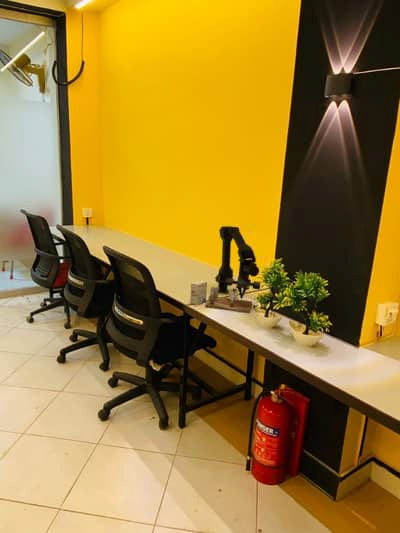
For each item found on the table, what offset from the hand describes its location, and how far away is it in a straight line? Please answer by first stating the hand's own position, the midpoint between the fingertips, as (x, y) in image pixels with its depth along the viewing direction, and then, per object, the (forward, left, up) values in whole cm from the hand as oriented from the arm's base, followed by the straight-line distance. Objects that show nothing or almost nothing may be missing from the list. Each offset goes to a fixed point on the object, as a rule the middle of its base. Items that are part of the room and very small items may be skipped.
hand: (241, 298), depth 216 cm
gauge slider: (+3, -4, -2) cm, 6 cm away
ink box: (+5, -23, -4) cm, 24 cm away
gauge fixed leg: (+3, -15, -2) cm, 15 cm away
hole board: (+4, -6, -4) cm, 8 cm away
